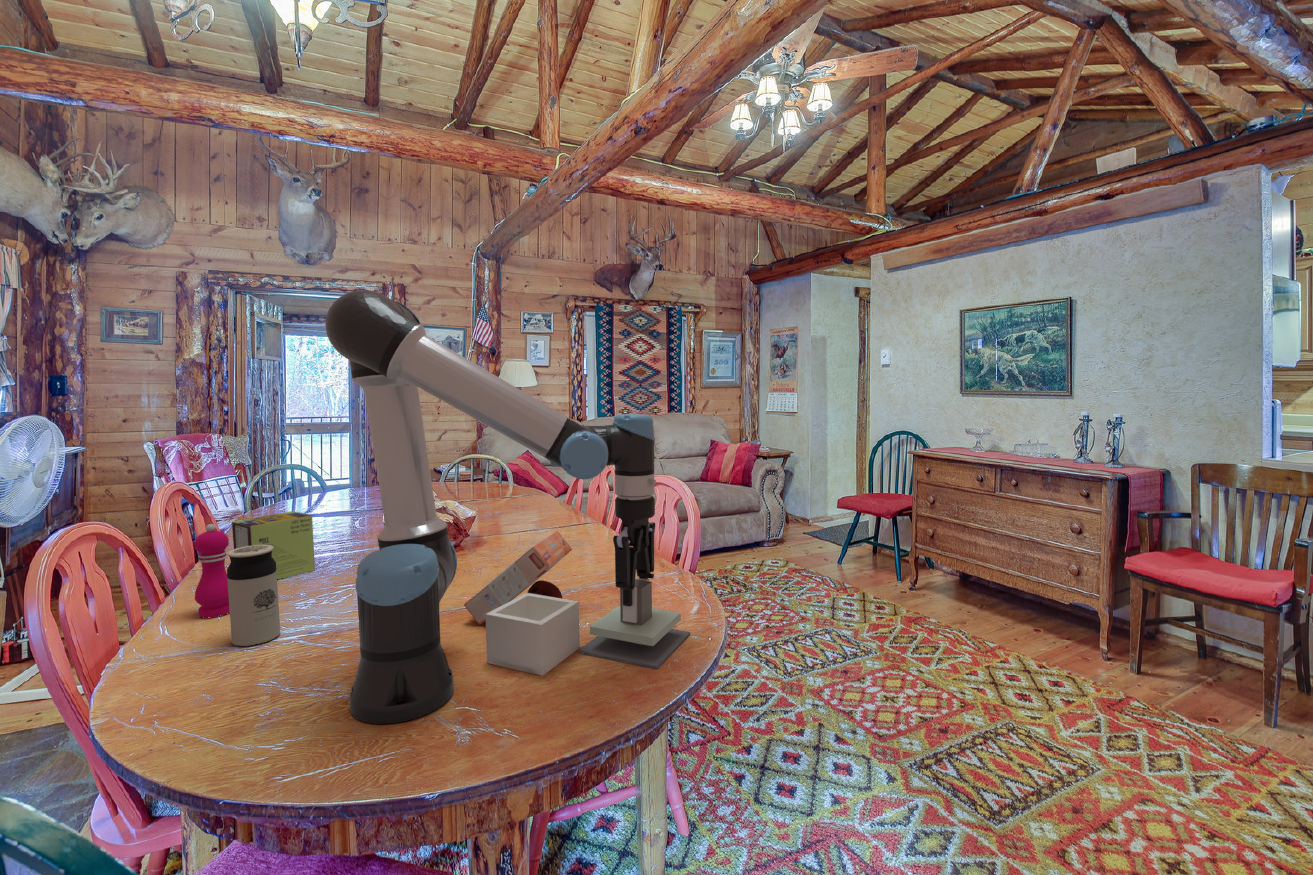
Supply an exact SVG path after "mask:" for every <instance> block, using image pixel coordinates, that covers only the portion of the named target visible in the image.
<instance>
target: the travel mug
mask: <svg viewBox="0 0 1313 875" xmlns="http://www.w3.org/2000/svg"><path fill="white" fill-rule="evenodd" d="M273 549H274V547H273V546H271V545H252V546H246V547H240V548H236V549H234V548H233V549H231V550H229V551H228V552H227V553H226V555H227V557H229V560H230V563H229V565H228V567H227V569H226V573H227V578H228V593H229V608H230V613H229V620H230V633H231V636H230V638H231V643H232V645H234V646H238V645H239V646H238V647H250V646H249V645H253V646H256V645H255V644H258V645H260V644H259V643H262V644H264V643H263V642H265V643H268V642H270V641H273V640H274V639H275V637H276V638H277V637H279V635H280V634H281V619H280V606H279V591H278V590H279V589H278V588H279V587H278V580H277V570H276V562H275V560H274V559H273V558H272V550H273ZM267 641H268V642H267Z"/></svg>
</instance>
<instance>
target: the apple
mask: <svg viewBox="0 0 1313 875" xmlns="http://www.w3.org/2000/svg"><path fill="white" fill-rule="evenodd" d="M526 593H531V594H537V595H543V596H549V597H555V598H561V599H563V595H562V592H561V590H560V589H559V587H558V586H557V585H556V584H554V583H552V582H550V581H547V580H543V579H541V580H539V579H538V580H536V581H535V582H534V583H533V584H531V585H530V586H529V588H528V590H527V592H526Z"/></svg>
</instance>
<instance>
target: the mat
mask: <svg viewBox="0 0 1313 875" xmlns="http://www.w3.org/2000/svg"><path fill="white" fill-rule="evenodd" d="M690 635H691V631H685V630H680V629H675V628H672V629H671V630H670V631H669V632H668V633H667V634H665V635H664V636H663V637H662V638H661V639H660V640H659V641H658V642H657V643H656V644H655V645H654V646H649V645H643V644H638V643H633V642H628V641H622V640H617V639H612V638H606V637H601V636H595V637H593V639H591V640H590V641H589V642H587V644H585V645H584V646H582V647H580V648H579V649H578V654H582V655H586V656H592V657H596V658H601V659H607V660H612V661H616V662H621V663H624V664H625V663H626V664H631V665H635V666H638V667H639V666H640V667H645V668H649V669H654V670H658V669H659V668H660V667H661V666H662V665H663V663H665V662H666V661H667V660H668V659H669V657H671V656H672V654H674V652H675V651H676V650H678V648H679V647H680V646H681V645H682V644H683V643H682V642H685V640H687V639H688V637H689V636H690ZM681 643H682V644H681Z"/></svg>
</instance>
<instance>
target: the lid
mask: <svg viewBox="0 0 1313 875" xmlns="http://www.w3.org/2000/svg"><path fill="white" fill-rule="evenodd" d="M635 588H637V622H636V623H633V622H627V621H623V599H622V588H619V595H620V596H619V598H620V599H619V600H620V601H619V603H620V604H619V605H618V606H616V607H615V608H614V609H612V610H611V611H610V612H608V613H607V614H605V615H604V616H602V617H601V618H599V619H598V620H597V621H595V622H593V624H591V625H590V626H589V635H592V636H595V637H597V636H601V637H606V638H612V639H617V640H622V641H628V642H633V643H638V644H643V645H649V646H654V645H655V644H656V643H657V642H658V641H659V640H660V639H661V638H662V637H663V636H664V635H665V634H667V633H668V632H669V631H670V630H671V629H674V627H675V626H676V625H677V624H678V623H679V622H680V621H681V617H682V615H681V611H680V612H679V611H672V610H666V609H660V608H656V607H655V608H654V607H653V599H652V598H653V593H652V592H653V590H652V588H653V583H652V581H650V580H649V581H643V580H636V579H635Z"/></svg>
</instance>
